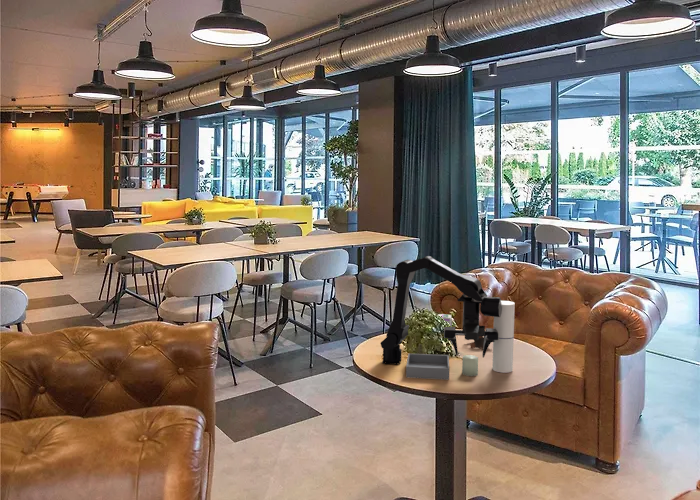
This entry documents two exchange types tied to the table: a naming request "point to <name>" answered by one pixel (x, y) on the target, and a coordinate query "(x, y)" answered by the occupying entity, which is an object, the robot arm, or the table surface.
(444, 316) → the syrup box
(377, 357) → the table surface
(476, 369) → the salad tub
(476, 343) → the pottery mug
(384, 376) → the table surface
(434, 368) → the bin
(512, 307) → the cylindrical container
